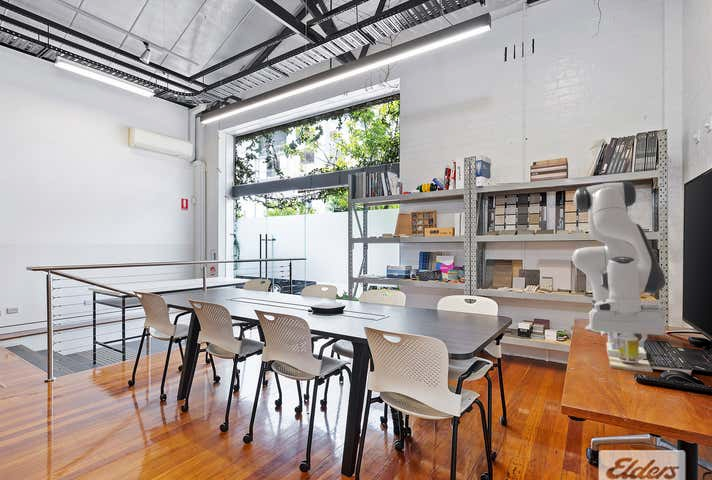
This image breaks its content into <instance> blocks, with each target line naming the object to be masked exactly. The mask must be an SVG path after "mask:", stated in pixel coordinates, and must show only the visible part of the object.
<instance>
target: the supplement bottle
mask: <svg viewBox="0 0 712 480" xmlns="http://www.w3.org/2000/svg"><path fill="white" fill-rule="evenodd" d="M635 334H636V333H631V332H624V333H620V334H618V351H619V359H620V360H621V361H624V362H629V363H636V362H638V361H639V349H638V341H639V338H638V336H635Z"/></svg>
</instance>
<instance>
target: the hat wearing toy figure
mask: <svg viewBox="0 0 712 480" xmlns="http://www.w3.org/2000/svg"><path fill="white" fill-rule="evenodd" d="M613 333H614V335H612V336H613V337H614V338H615V339H618V336H619V334H617V332H613ZM604 335H606V333H605V332H603V331H602V332H601V333H600V336H602V337H603V336H604ZM607 343H613V340H612V339H611V337H610V336H609V334H607Z"/></svg>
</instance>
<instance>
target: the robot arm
mask: <svg viewBox="0 0 712 480" xmlns="http://www.w3.org/2000/svg"><path fill="white" fill-rule="evenodd" d="M637 197H638V189H637V188H636V186H635V184H634V183H632V182H631V181H621V182H605V183H601V184H593V185H591V186H590V185H589V186H582V187H579V188H577V189H576V190H575V193H574V195H573V198H572V201H573V204H574V206H575V208H576V210H578V211H579V212H587V219H588V221H587V222H588V234H589V236H590V238H592V240H595V241H598V242H601V243H603V244H604V245H603V246H601V245H600V246H585V247H580V248H577V249H575V250H574V251H573V254H572V256H571V261H572V263H573V265H574V267H575V268H576V269H578V270H579V271H581V272H582V273H583V274H584V275H585V276H586V277H587V278H588V280H589V282H590V284H591V289H592V290H591V291H592V300H591V301H592V302H591V305H592V309H591V310H590V311H589V312H588V319H589V320H588V323H589V324H588V325H586V326H584V327H585V328H584V329H585V330H587V331H592V332H595V333H600V334H601V332H602V331H603V332H605V335H606V334H607V335H608V334H609V336H610V337H611V339H612V343H613V345H618V339H615V338H614V337H613V336H612V335H614V333H613V332H617V335H620V333H624V332H631V333H635V334H638V335H641V339H639V340H638V347H643V348H644V347H645V345H644V343H645V341H646V340H647V339H648V335H656V336H663V335H665V334H666V326H665V321H664V320H665V318H666V311H665V309H664V308H663V307H660V306H659V305H643V304H642V296H641V293H647V294H656V293H658V292H660V291H661V290H662V289H664V288H665V286H666V276H665V273H664V271H663V270H662V268H661V265H660V264H659V262H658V260H657V258H656V256H655V253H654V251H653V249H652V246H651V244H650V242H649V240H648V237H647V236H646V233H645V231H644V229H643V227H642V226H641V225H640V224H638V223H635V222H634V221H633V220H632V219H631V218H630V217H629V215H628V210H627V208H628V207H632V206H633V205H635V203H636V201H637ZM639 262H640V264H639Z"/></svg>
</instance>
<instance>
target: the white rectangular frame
mask: <svg viewBox="0 0 712 480" xmlns="http://www.w3.org/2000/svg"><path fill="white" fill-rule="evenodd" d="M638 349H639V358H641V359H647V360H648V358H647V352H646V350H645V348H644V347H638ZM606 353H607V357H608V358H609V357H619V351H618V345H613V342H612V343H608V342H606Z"/></svg>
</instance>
